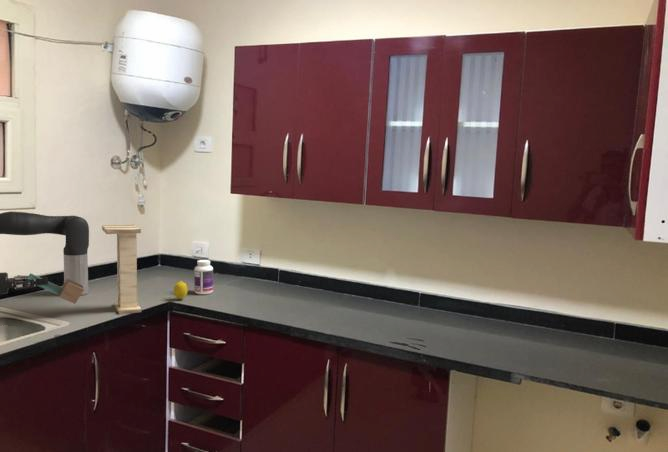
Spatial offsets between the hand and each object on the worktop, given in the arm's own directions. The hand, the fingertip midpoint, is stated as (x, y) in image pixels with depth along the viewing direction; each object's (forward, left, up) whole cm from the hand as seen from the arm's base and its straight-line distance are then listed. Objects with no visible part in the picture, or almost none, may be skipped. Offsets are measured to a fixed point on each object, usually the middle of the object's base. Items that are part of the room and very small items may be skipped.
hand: (47, 280), depth 202 cm
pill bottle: (-14, +61, -13) cm, 64 cm away
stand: (0, +25, -13) cm, 29 cm away
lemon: (-6, +49, -13) cm, 52 cm away
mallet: (0, +1, -4) cm, 4 cm away
